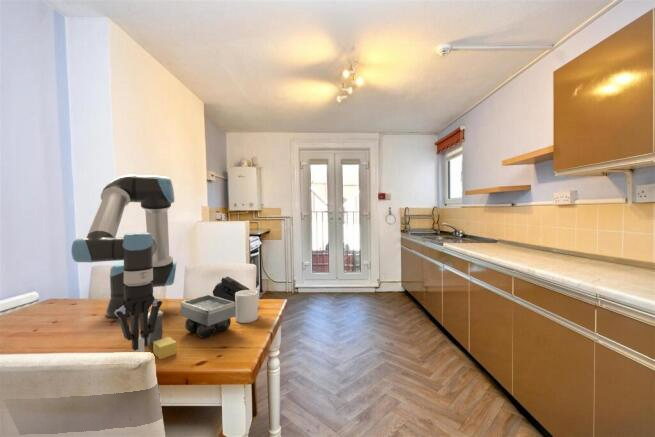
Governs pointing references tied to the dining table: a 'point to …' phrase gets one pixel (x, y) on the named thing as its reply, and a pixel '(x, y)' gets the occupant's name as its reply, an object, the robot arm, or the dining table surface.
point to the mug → (246, 306)
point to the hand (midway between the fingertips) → (139, 358)
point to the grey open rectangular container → (207, 314)
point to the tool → (228, 289)
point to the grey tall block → (157, 331)
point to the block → (164, 347)
